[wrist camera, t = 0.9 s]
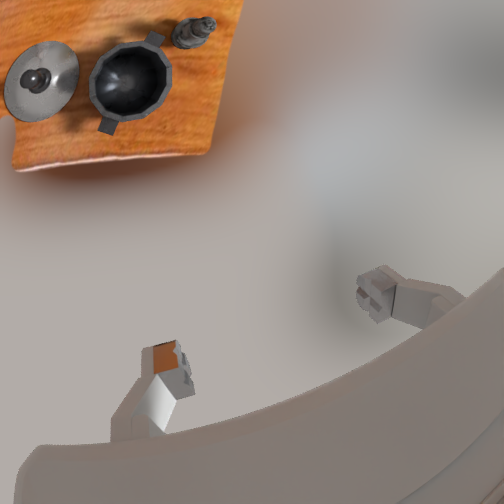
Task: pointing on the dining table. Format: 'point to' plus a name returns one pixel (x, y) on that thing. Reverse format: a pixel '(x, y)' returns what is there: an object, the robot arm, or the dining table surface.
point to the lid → (41, 81)
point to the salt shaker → (192, 32)
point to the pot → (130, 81)
